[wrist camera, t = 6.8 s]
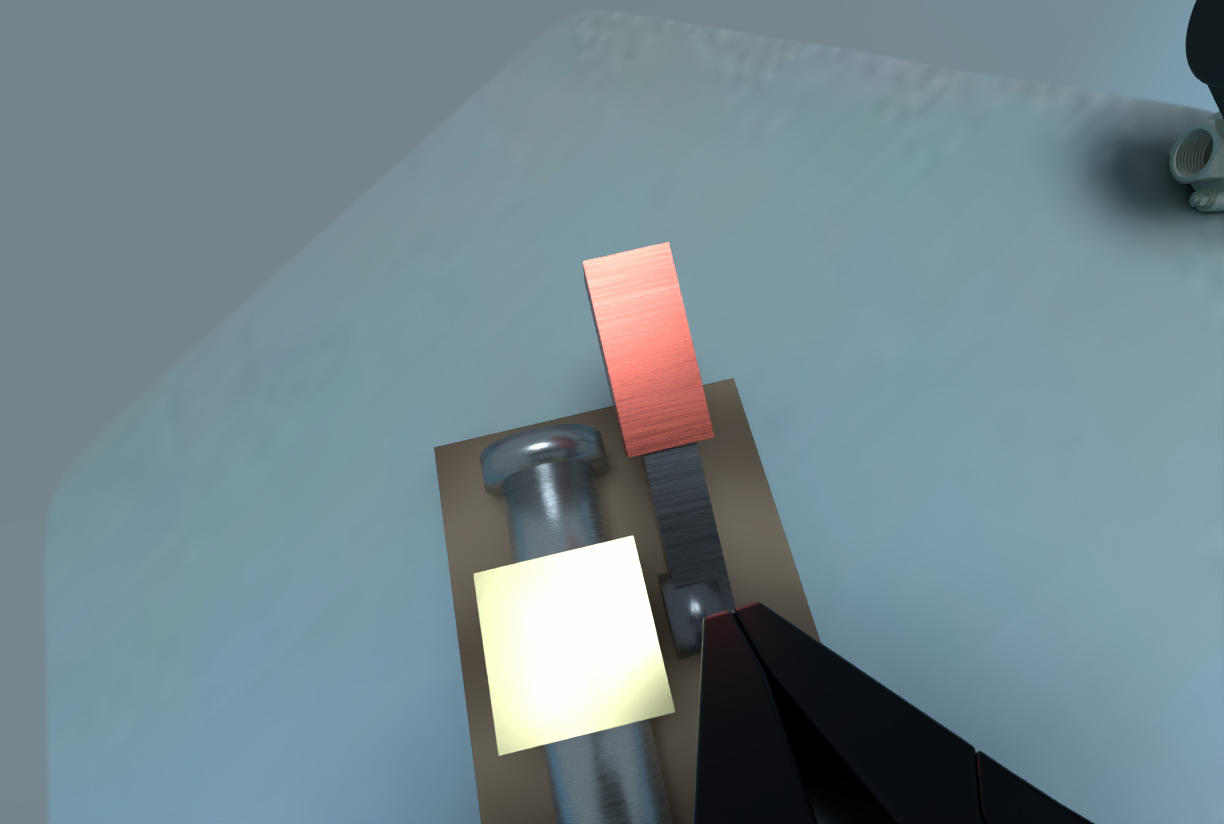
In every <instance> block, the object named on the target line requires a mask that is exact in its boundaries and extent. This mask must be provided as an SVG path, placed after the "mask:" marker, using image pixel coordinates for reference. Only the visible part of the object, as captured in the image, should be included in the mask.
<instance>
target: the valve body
mask: <svg viewBox="0 0 1224 824" xmlns="http://www.w3.org/2000/svg"><path fill="white" fill-rule="evenodd" d="M480 462H481V469H482V475H483V482H484V488H485V491H486V492H487V493H488V494H490V495H492V496H496V497H501V498H503V504H504V510H505V516H506V522H507V528H508V535H509V541H510V547H511V553H512V559H513V564H511V565H507V566H503V567H499V568H495V569H491V570H486V571H482V572H478V573H474V574H473V575H474V582H475V590H476V597H477V604H478V611H479V618H480V625H481V633H482V640H483V647H484V654H485V661H486V669H487V676H488V683H489V690H490V697H491V704H492V712H493V719H494V726H495V733H496V740H497V747H498V755H499V756H500V755H504V754H508V753H512V752H516V751H520V750H524V749H528V748H532V747H536V746H540V745H543V748H544V754H545V760H546V767H547V773H548V779H549V785H550V791H551V797H552V803H553V809H554V815H555V822H556V824H673V821H672V817H671V812H670V808H669V803H668V799H667V795H666V790H665V786H664V781H663V777H662V772H661V768H660V763H659V759H658V754H657V750H656V745H655V741H654V736H653V732H652V727H651V723H650V718H654V717H658V716H662V715H666V714H670V713H674V712H675V709H674V704H673V700H672V696H671V692H670V688H669V683H668V679H667V675H666V671H665V667H664V662H663V658H662V654H661V650H660V646H659V642H658V637H657V633H656V629H655V625H654V621H653V616H652V612H651V608H650V604H649V600H648V595H647V591H646V587H645V583H644V579H643V574H642V570H641V566H640V562H639V558H638V554H637V549H636V545H635V541H634V537H633V536H629V537H625V538H621V539H616V540H612V541H610V540H609V535H608V531H607V526H606V522H605V517H604V513H603V509H602V504H601V500H600V495H599V491H598V486H597V482H596V478H597V477H599V476H600V475H602V474H603V473H604V472H605V471H606V470H607V468H608V460H607V455H606V451H605V447H604V443H603V438H602V435H601V432H600V431H599V430H597V429H596V428H593V427H590V426H586V425H580V424H557V425H548V426H542V427H536V428H532V429H528V430H524V431H520V432H517V433H514V434H511V435H509V436H506V437H504V438H501V439H499V440H497V441H496V442H494V443H492V444H491V445H489V446H488V447H487V448H485V449H484V451H483V452H482V453H481V455H480Z"/></svg>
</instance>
